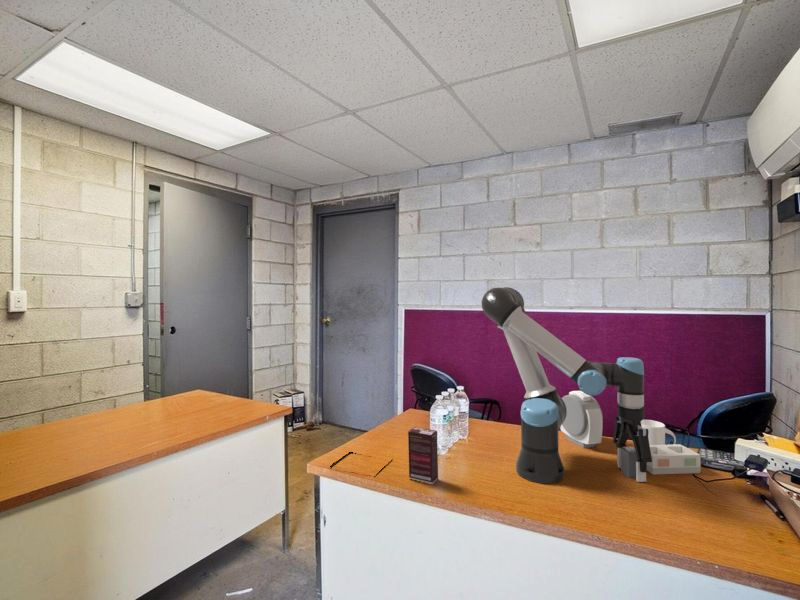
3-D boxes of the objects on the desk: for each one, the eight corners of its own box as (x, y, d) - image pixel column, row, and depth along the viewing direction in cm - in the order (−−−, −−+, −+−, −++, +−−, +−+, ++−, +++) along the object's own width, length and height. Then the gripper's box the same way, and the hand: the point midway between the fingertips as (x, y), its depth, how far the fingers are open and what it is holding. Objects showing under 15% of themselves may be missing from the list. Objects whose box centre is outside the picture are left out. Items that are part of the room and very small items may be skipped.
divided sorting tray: (653, 474, 128) (653, 456, 127) (635, 462, 137) (635, 445, 137) (701, 473, 128) (701, 455, 128) (680, 461, 137) (679, 444, 137)
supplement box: (438, 479, 127) (438, 430, 127) (432, 485, 123) (432, 435, 122) (414, 473, 131) (414, 426, 131) (408, 479, 127) (407, 430, 127)
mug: (678, 459, 139) (678, 429, 139) (639, 454, 144) (639, 425, 143) (673, 450, 147) (673, 422, 146) (636, 446, 151) (636, 418, 151)
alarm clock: (605, 449, 148) (605, 396, 148) (586, 452, 146) (586, 398, 146) (573, 433, 166) (573, 385, 165) (556, 435, 164) (555, 387, 163)
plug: (628, 477, 126) (628, 450, 126) (621, 471, 130) (621, 445, 130) (640, 477, 126) (640, 450, 126) (633, 471, 130) (632, 445, 130)
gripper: (666, 415, 117) (666, 490, 117) (621, 396, 139) (622, 459, 139) (641, 416, 117) (642, 491, 117) (601, 397, 139) (601, 460, 139)
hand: (631, 473), depth 128 cm, fingers open, 9 cm apart
